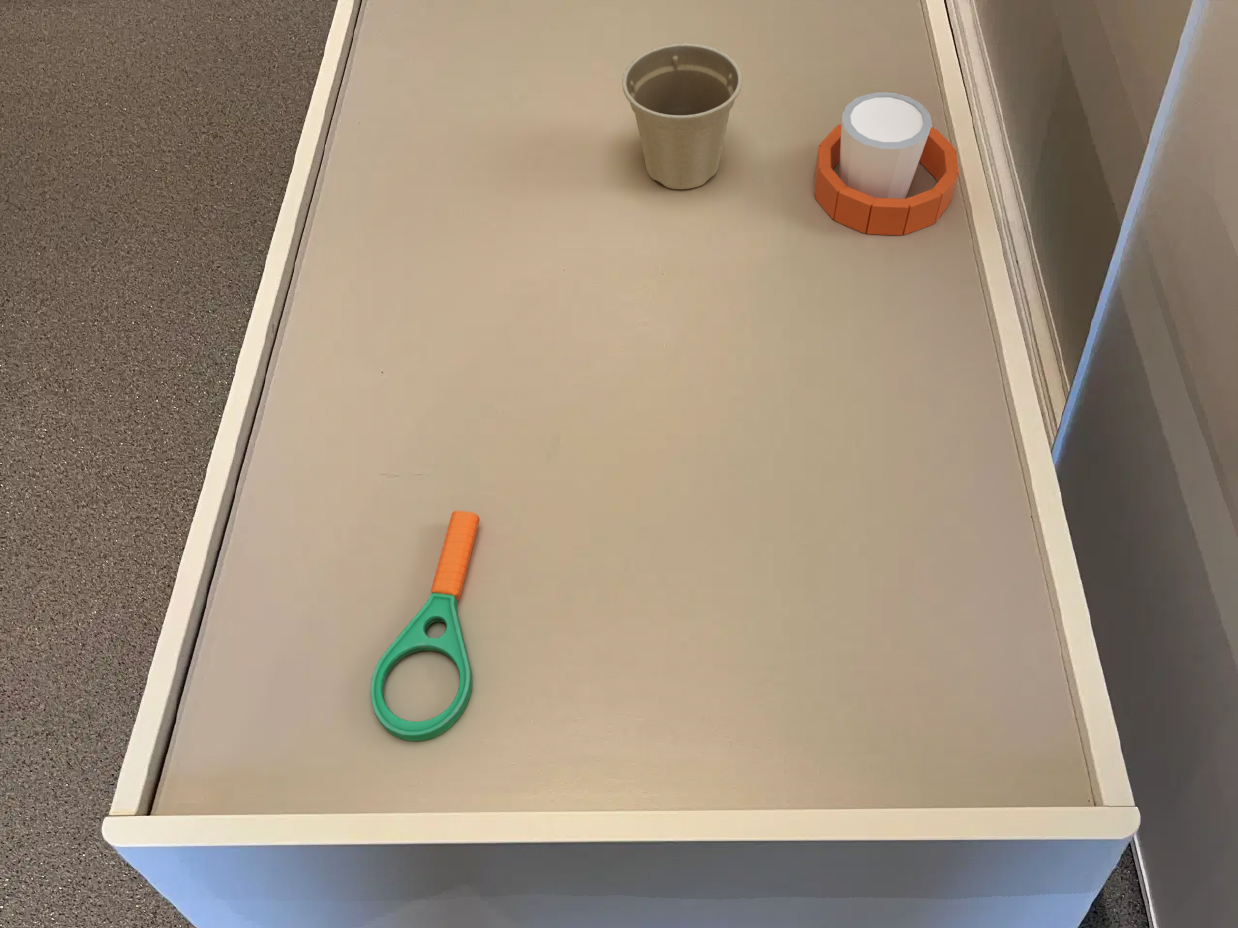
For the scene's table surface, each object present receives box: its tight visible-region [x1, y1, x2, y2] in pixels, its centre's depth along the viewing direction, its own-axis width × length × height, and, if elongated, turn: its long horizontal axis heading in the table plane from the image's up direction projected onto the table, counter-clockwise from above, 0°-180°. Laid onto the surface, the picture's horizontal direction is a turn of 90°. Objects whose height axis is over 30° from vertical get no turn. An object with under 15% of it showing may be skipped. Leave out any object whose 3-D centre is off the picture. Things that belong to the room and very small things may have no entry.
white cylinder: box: [838, 91, 933, 199], centre depth 84 cm, size 7×7×7 cm
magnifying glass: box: [369, 510, 481, 742], centre depth 66 cm, size 15×6×2 cm, turn 171°
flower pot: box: [621, 42, 743, 190], centre depth 86 cm, size 9×9×9 cm
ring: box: [814, 123, 960, 236], centre depth 86 cm, size 11×11×3 cm
